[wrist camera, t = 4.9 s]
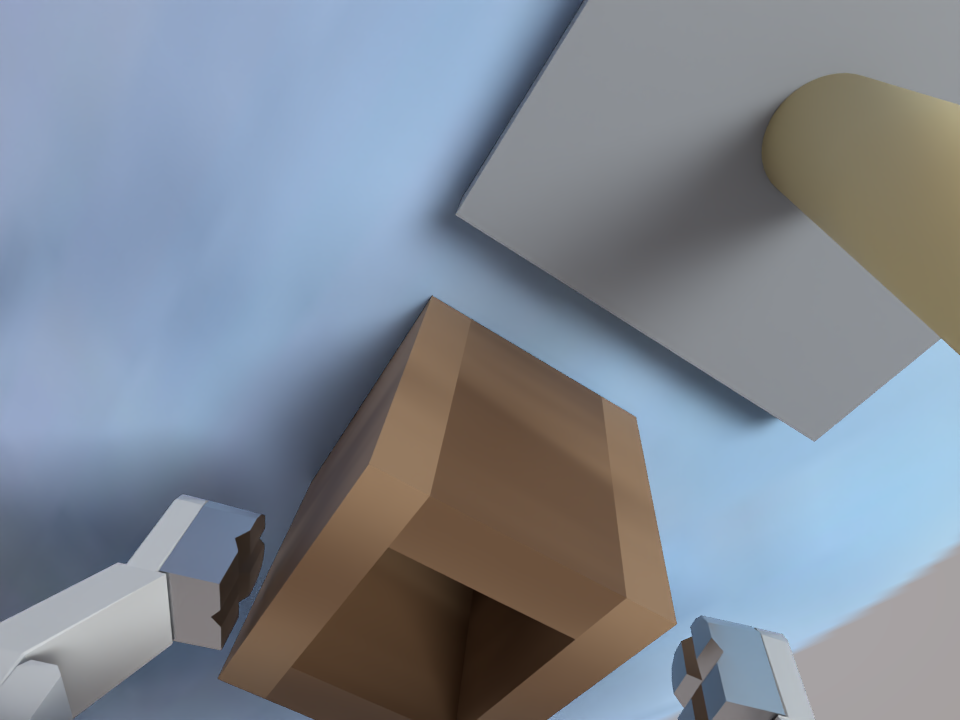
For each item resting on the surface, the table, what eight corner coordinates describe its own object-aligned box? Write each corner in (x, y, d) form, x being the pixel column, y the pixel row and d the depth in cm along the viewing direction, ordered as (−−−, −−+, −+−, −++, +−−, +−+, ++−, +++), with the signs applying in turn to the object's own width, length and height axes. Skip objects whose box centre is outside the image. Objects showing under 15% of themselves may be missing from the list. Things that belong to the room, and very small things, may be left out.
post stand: (796, 410, 13) (1013, 787, 7) (462, 197, 11) (361, 445, 5) (1229, 37, 9) (2615, 152, 3) (813, -373, 7) (2022, -2001, 1)
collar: (485, 569, 16) (463, 780, 12) (311, 482, 15) (217, 678, 11) (636, 417, 13) (676, 623, 9) (432, 295, 12) (369, 463, 8)
